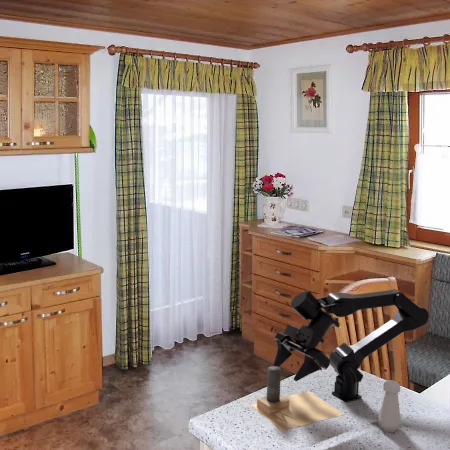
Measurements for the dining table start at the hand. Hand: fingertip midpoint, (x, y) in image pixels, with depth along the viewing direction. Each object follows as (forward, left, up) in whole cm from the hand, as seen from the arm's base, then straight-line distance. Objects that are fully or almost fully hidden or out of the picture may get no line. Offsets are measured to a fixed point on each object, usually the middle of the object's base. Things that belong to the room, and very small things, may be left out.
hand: (284, 374), depth 162 cm
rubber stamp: (+4, +1, -9) cm, 10 cm away
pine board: (-2, +4, -10) cm, 11 cm away
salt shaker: (-20, +21, -11) cm, 31 cm away
